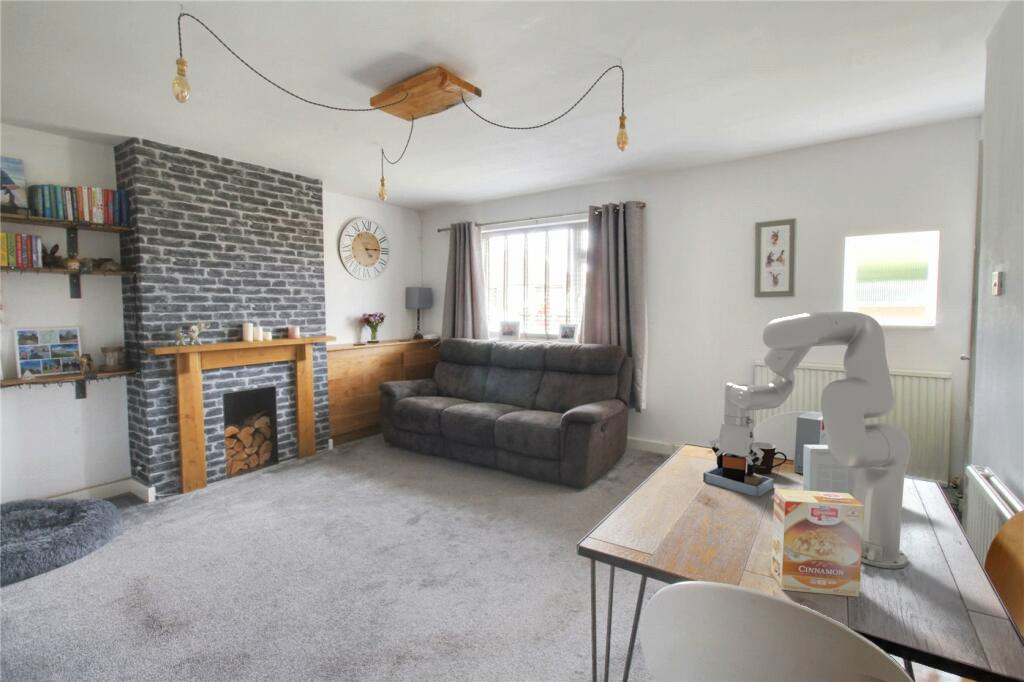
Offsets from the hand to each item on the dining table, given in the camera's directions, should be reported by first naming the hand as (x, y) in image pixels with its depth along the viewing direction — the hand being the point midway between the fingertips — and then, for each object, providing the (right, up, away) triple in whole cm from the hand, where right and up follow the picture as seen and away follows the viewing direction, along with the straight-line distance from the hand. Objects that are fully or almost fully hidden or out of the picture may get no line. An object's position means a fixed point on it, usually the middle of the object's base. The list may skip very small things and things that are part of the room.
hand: (735, 471), depth 159 cm
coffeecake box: (-9, -10, -55) cm, 57 cm away
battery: (0, -4, +1) cm, 4 cm away
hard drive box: (+34, -4, +14) cm, 37 cm away
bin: (+1, -5, 0) cm, 5 cm away
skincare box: (+28, -6, -10) cm, 30 cm away
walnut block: (+4, -4, -4) cm, 7 cm away
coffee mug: (+15, -4, +10) cm, 19 cm away
